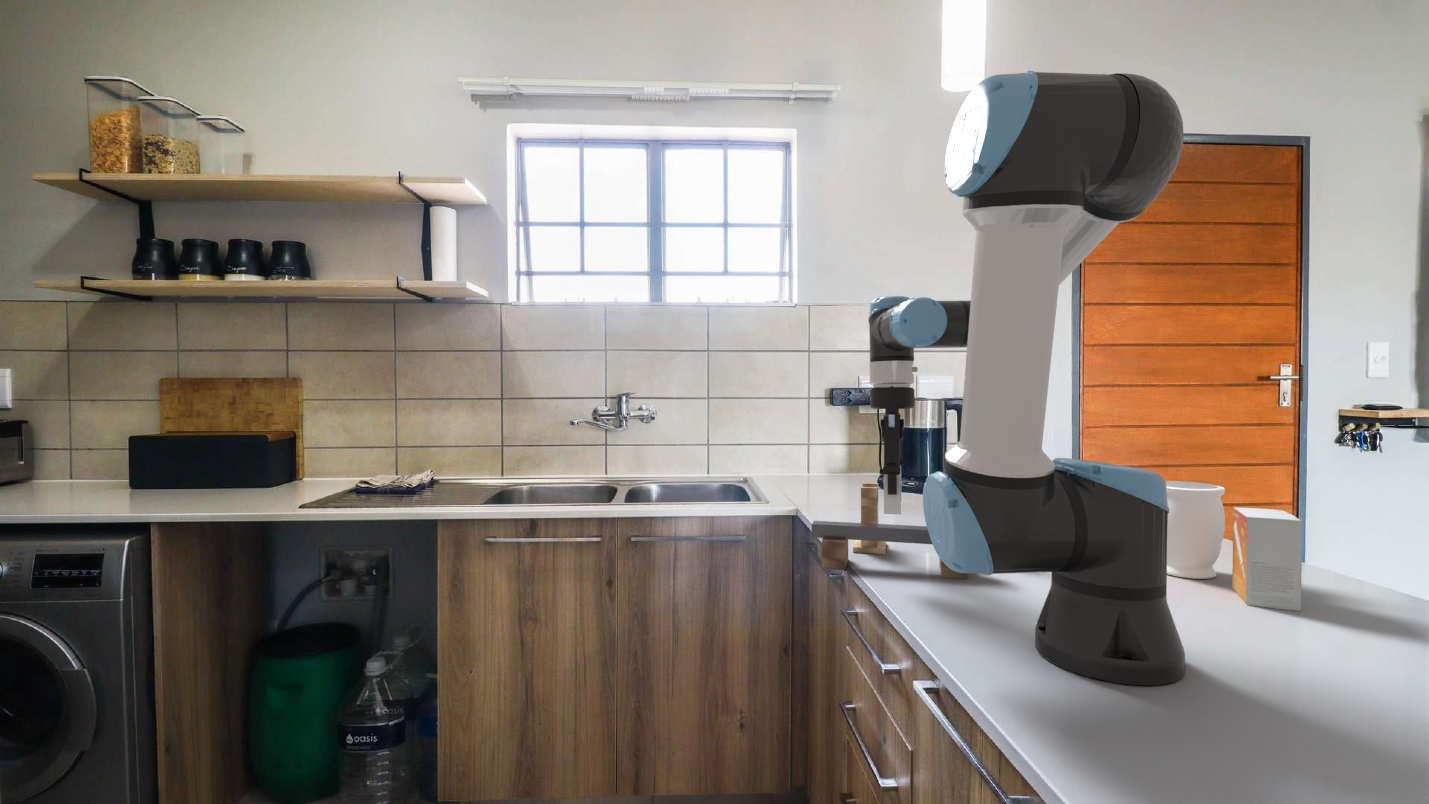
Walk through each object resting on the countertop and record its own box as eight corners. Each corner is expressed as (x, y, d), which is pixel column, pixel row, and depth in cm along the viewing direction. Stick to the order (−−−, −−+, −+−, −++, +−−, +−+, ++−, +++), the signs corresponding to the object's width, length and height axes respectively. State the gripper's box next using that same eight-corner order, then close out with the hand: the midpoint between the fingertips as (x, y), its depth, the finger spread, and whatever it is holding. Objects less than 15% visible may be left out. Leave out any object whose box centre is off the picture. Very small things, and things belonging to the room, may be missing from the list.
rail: (976, 542, 111) (976, 528, 111) (978, 546, 108) (978, 532, 108) (814, 533, 119) (814, 520, 119) (811, 537, 116) (811, 524, 116)
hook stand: (998, 550, 124) (998, 486, 124) (1004, 561, 117) (1004, 493, 116) (856, 542, 132) (855, 481, 132) (853, 552, 124) (852, 488, 124)
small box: (1231, 589, 100) (1232, 506, 100) (1283, 595, 97) (1285, 509, 97) (1245, 605, 93) (1246, 516, 93) (1302, 612, 90) (1303, 520, 90)
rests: (963, 567, 113) (963, 539, 113) (966, 578, 107) (966, 549, 107) (826, 558, 120) (826, 531, 120) (821, 568, 114) (821, 540, 113)
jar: (1151, 576, 107) (1151, 487, 106) (1143, 561, 116) (1143, 478, 116) (1231, 585, 102) (1232, 491, 102) (1216, 568, 111) (1217, 482, 111)
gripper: (915, 384, 100) (916, 521, 100) (913, 386, 124) (914, 496, 124) (865, 385, 102) (867, 519, 102) (873, 387, 126) (874, 495, 126)
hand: (893, 507), depth 113 cm, fingers open, 13 cm apart
